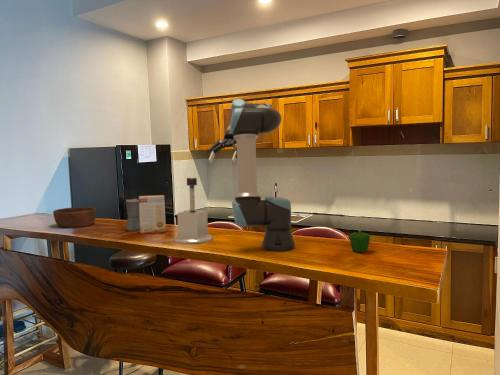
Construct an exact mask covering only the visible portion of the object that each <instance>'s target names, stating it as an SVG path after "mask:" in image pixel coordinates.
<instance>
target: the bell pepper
mask: <svg viewBox="0 0 500 375" xmlns="http://www.w3.org/2000/svg"><path fill="white" fill-rule="evenodd" d="M370 242H371V236H370V234H369V233H366V232H362V229H358V232H356V231H354V232H353V233H350V235H349V243H350V247H351V250H352V251H354V252H356V253H365V252H367V250H368V249H369V245H370Z"/></svg>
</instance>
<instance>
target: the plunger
mask: <svg viewBox="0 0 500 375" xmlns="http://www.w3.org/2000/svg"><path fill="white" fill-rule="evenodd" d="M197 180H198V179H197V177H187V178H186V186H188V187H189V210H190V212H195V210H196V207H195V206H196V203H195V202H196V200H195V198H196V196H195V186H197V185H198V182H197Z"/></svg>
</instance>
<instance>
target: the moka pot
mask: <svg viewBox="0 0 500 375" xmlns="http://www.w3.org/2000/svg"><path fill="white" fill-rule="evenodd" d="M124 203H125V205H124ZM120 205H121V209H122V212H123V215H125V216H127V220H126V227H125V229H126V231H129V232H132V231H135V232H136V231H140V214H139V198H138V199H137V198H136V195H135V196H134V195H133V196H132V199H125V198H123V199H122V200H121V202H120ZM125 206H126V209H125Z"/></svg>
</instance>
